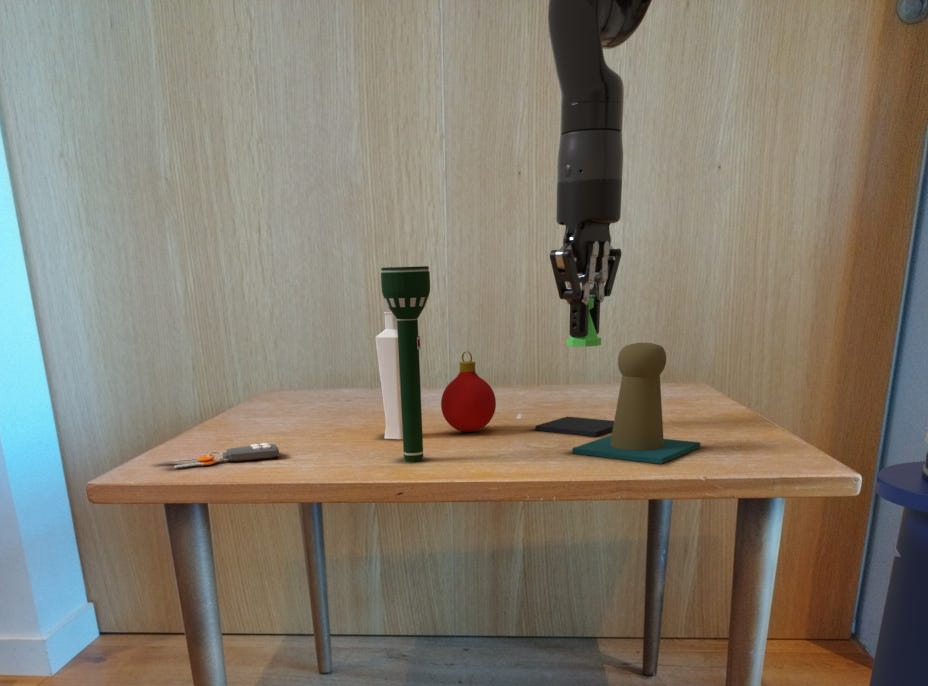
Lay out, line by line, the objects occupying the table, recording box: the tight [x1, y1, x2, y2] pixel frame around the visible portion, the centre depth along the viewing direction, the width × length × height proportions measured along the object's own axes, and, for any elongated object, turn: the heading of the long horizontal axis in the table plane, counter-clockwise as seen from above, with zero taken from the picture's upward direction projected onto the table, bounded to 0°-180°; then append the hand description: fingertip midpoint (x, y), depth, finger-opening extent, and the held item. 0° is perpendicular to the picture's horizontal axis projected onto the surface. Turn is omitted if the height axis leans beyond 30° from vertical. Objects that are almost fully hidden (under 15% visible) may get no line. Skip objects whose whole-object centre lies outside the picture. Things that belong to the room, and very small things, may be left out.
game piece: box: [565, 296, 602, 348], centre depth 105 cm, size 4×4×6 cm
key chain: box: [162, 442, 280, 469], centre depth 98 cm, size 13×4×2 cm, turn 111°
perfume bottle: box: [374, 311, 403, 440], centre depth 106 cm, size 5×4×15 cm
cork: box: [610, 342, 667, 450], centre depth 94 cm, size 6×6×11 cm
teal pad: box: [571, 434, 701, 465], centre depth 97 cm, size 11×10×1 cm
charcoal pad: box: [534, 416, 614, 437], centre depth 110 cm, size 9×8×1 cm
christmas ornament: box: [440, 350, 497, 433], centre depth 109 cm, size 7×7×10 cm
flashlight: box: [380, 265, 431, 463], centre depth 92 cm, size 5×5×20 cm
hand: (584, 335), depth 106 cm, fingers closed on game piece, 2 cm apart
